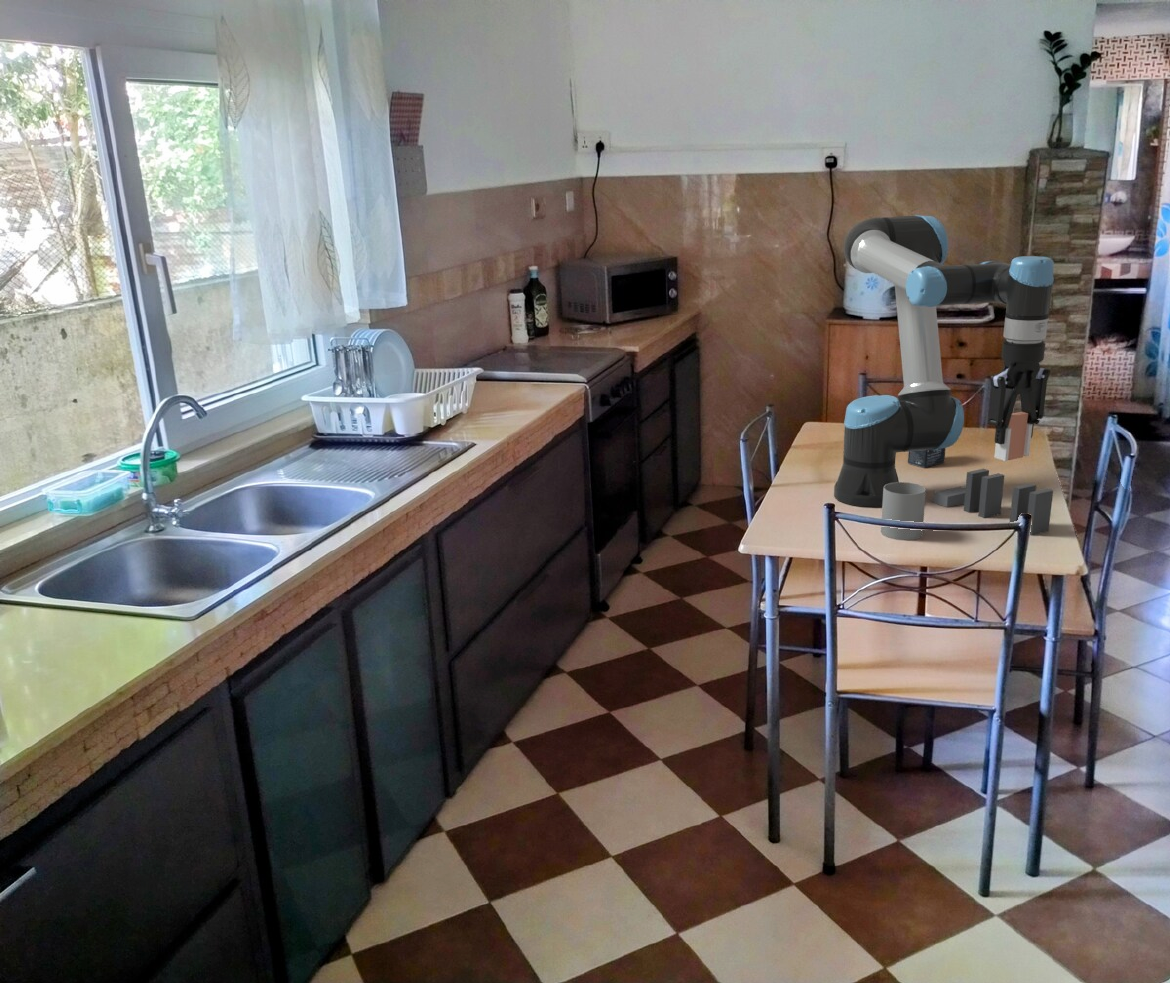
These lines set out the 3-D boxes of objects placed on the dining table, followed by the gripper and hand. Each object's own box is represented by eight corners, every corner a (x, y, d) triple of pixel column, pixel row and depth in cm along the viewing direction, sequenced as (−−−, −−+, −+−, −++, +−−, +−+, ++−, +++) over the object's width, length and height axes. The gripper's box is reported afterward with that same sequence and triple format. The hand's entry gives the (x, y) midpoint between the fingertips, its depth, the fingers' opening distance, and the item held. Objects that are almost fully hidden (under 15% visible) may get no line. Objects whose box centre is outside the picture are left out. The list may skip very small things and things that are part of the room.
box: (925, 468, 255) (928, 428, 252) (907, 463, 260) (909, 424, 257) (945, 463, 259) (948, 423, 256) (927, 458, 264) (930, 419, 261)
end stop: (946, 507, 227) (947, 496, 226) (933, 502, 230) (934, 492, 230) (972, 501, 230) (973, 490, 230) (959, 496, 234) (960, 486, 233)
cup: (905, 543, 207) (908, 497, 204) (872, 532, 214) (875, 487, 210) (930, 533, 212) (934, 488, 209) (898, 523, 218) (901, 479, 215)
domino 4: (1015, 529, 212) (1019, 489, 210) (1009, 527, 214) (1013, 487, 211) (1032, 525, 215) (1036, 485, 212) (1025, 523, 216) (1030, 483, 213)
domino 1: (969, 512, 223) (972, 473, 220) (963, 510, 225) (966, 472, 222) (985, 508, 225) (989, 470, 223) (980, 506, 227) (983, 468, 224)
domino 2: (983, 518, 220) (987, 478, 217) (978, 516, 221) (981, 476, 218) (1000, 514, 222) (1004, 475, 219) (994, 512, 223) (998, 473, 220)
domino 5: (1031, 535, 209) (1036, 494, 206) (1025, 533, 210) (1029, 492, 207) (1048, 531, 211) (1053, 490, 208) (1042, 528, 212) (1046, 488, 210)
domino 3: (1004, 461, 198) (1009, 416, 195) (998, 459, 199) (1003, 414, 196) (1023, 457, 200) (1028, 413, 197) (1016, 455, 201) (1021, 411, 198)
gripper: (1005, 348, 185) (992, 468, 193) (1074, 337, 192) (1059, 454, 200) (974, 342, 192) (963, 459, 199) (1042, 332, 199) (1029, 445, 206)
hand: (1011, 456), depth 199 cm, fingers closed on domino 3, 5 cm apart
